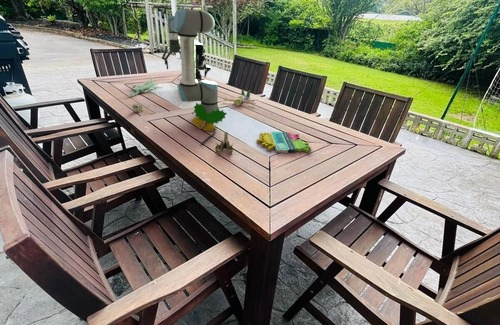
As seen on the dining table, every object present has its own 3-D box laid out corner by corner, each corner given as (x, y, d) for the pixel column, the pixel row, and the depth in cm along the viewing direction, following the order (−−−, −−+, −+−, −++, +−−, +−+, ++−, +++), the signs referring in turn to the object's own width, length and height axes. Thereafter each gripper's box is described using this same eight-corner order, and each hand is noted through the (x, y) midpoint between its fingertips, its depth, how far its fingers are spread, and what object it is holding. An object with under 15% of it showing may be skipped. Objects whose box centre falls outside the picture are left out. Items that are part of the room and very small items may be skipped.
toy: (261, 91, 228) (254, 99, 202) (261, 99, 231) (253, 108, 205) (231, 87, 233) (220, 95, 207) (230, 95, 236) (219, 104, 210)
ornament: (218, 133, 171) (224, 110, 169) (221, 134, 163) (227, 111, 161) (186, 125, 162) (192, 101, 160) (189, 126, 155) (195, 101, 153)
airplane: (123, 87, 237) (120, 75, 231) (158, 84, 250) (157, 74, 245) (127, 99, 208) (125, 87, 203) (167, 96, 221) (166, 84, 216)
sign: (313, 150, 142) (258, 149, 139) (312, 153, 143) (258, 152, 140) (301, 132, 164) (254, 130, 161) (301, 134, 165) (254, 133, 162)
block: (137, 110, 186) (136, 103, 184) (142, 110, 186) (141, 104, 183) (133, 112, 182) (132, 105, 180) (138, 112, 182) (137, 106, 179)
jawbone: (234, 135, 144) (233, 125, 135) (233, 160, 138) (232, 151, 129) (217, 135, 144) (216, 125, 135) (216, 160, 138) (214, 150, 129)
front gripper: (189, 39, 203) (191, 67, 213) (156, 38, 193) (159, 68, 204) (192, 40, 197) (193, 69, 207) (157, 39, 188) (160, 70, 198)
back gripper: (190, 61, 218) (191, 80, 225) (212, 61, 224) (212, 80, 232) (187, 59, 226) (188, 77, 234) (209, 59, 233) (209, 77, 241)
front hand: (176, 69), depth 206 cm, fingers open, 13 cm apart
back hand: (199, 78), depth 235 cm, fingers open, 9 cm apart
